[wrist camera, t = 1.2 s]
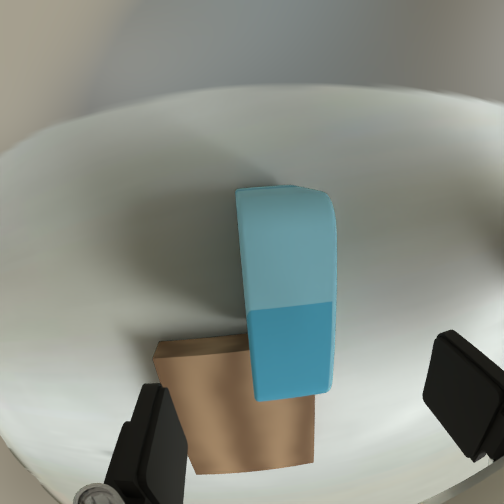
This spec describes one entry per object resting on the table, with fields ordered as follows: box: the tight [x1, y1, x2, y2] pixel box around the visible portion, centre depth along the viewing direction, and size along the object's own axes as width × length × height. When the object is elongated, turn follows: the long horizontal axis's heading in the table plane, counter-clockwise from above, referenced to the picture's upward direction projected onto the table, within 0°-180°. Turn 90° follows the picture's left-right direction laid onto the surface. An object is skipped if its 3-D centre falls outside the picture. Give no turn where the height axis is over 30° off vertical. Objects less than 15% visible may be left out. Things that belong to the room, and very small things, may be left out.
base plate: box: [153, 333, 315, 475], centre depth 29 cm, size 14×18×3 cm
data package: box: [235, 185, 337, 402], centre depth 21 cm, size 12×4×12 cm, turn 5°
